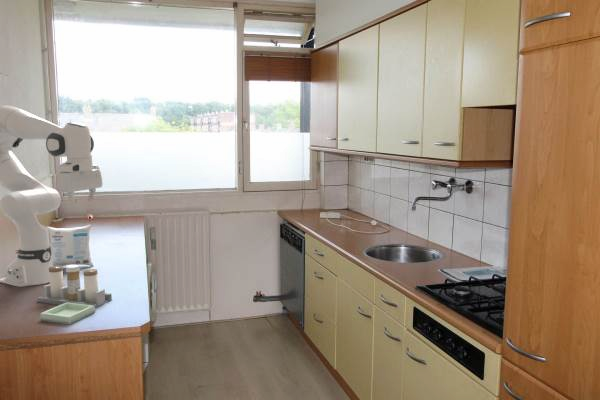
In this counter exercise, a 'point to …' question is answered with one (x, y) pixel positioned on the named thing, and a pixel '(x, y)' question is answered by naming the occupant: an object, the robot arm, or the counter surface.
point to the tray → (67, 313)
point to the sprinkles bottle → (73, 281)
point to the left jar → (56, 280)
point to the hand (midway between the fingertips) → (82, 202)
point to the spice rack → (99, 296)
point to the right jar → (90, 285)
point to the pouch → (70, 246)
